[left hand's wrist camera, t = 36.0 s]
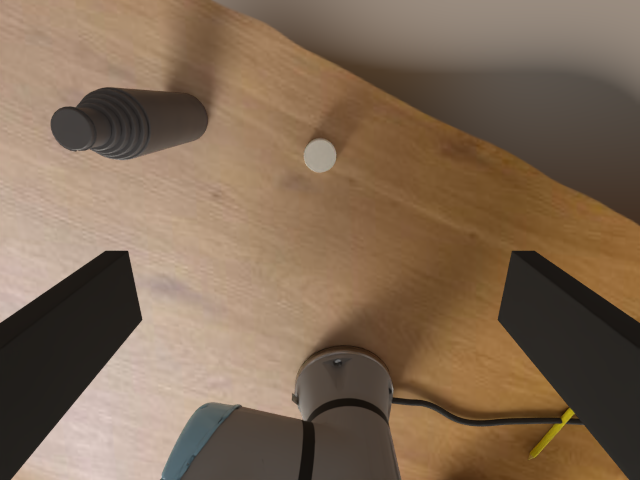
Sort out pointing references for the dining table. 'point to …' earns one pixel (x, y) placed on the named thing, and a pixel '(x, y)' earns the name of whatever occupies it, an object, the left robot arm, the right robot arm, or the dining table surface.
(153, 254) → the dining table surface
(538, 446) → the pencil
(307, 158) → the cap
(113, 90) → the bottle
